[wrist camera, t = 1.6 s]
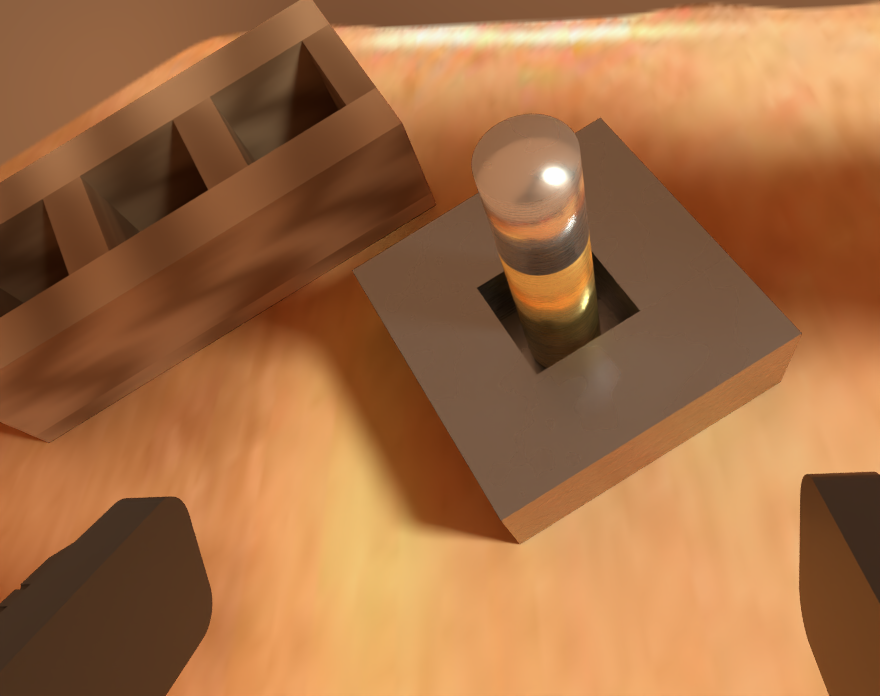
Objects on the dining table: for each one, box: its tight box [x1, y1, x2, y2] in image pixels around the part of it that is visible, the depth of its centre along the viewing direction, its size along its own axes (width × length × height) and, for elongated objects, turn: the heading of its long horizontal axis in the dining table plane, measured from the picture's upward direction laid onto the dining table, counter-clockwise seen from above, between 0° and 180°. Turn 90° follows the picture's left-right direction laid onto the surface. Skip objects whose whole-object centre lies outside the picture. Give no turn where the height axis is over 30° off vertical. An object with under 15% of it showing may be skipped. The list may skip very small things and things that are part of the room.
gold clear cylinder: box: [471, 114, 601, 368], centre depth 26 cm, size 3×3×12 cm
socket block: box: [352, 118, 802, 544], centre depth 31 cm, size 12×12×4 cm
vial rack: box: [0, 0, 436, 443], centre depth 37 cm, size 22×10×6 cm, turn 119°
